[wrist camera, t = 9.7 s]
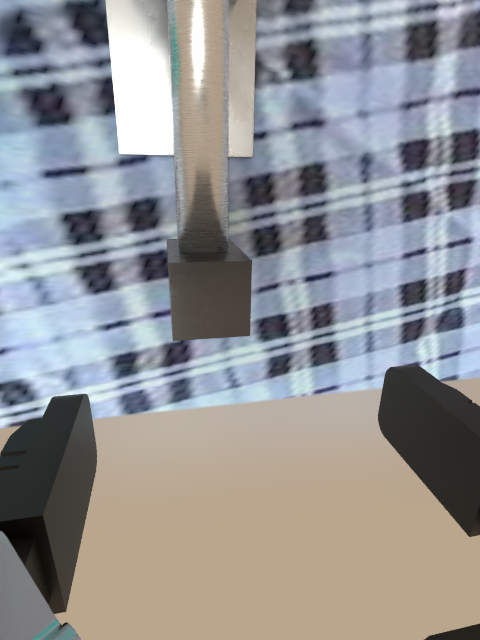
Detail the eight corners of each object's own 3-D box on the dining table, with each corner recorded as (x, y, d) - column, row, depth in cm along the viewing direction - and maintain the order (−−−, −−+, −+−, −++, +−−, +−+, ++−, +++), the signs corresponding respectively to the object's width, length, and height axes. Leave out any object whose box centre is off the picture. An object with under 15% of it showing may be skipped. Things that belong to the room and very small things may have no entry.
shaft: (138, -262, 16) (124, -541, 10) (229, -242, 17) (270, -490, 11) (169, 298, 26) (173, 340, 19) (228, 296, 26) (249, 335, 20)
